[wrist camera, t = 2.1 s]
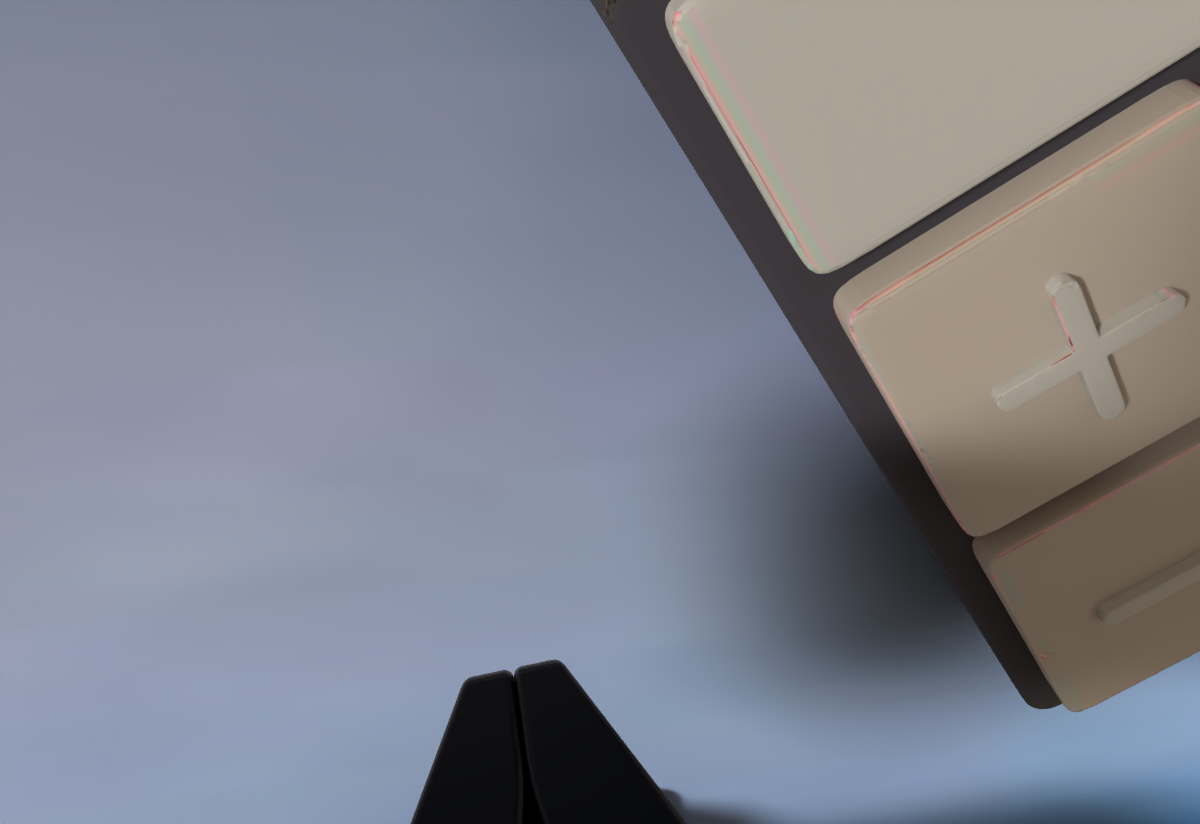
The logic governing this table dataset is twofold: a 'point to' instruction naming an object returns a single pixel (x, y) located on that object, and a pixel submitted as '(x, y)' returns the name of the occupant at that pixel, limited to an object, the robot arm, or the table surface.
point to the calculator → (981, 283)
